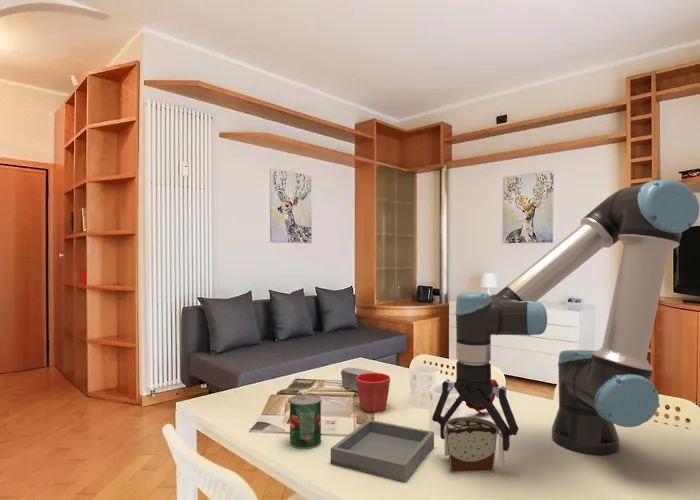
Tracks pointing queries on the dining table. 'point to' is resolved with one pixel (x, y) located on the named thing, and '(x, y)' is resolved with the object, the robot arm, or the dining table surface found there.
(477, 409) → the decorative bird figurine
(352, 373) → the decorative stone
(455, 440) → the food container
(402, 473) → the tray
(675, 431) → the dining table surface
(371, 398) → the flower pot
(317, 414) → the canned tomato
